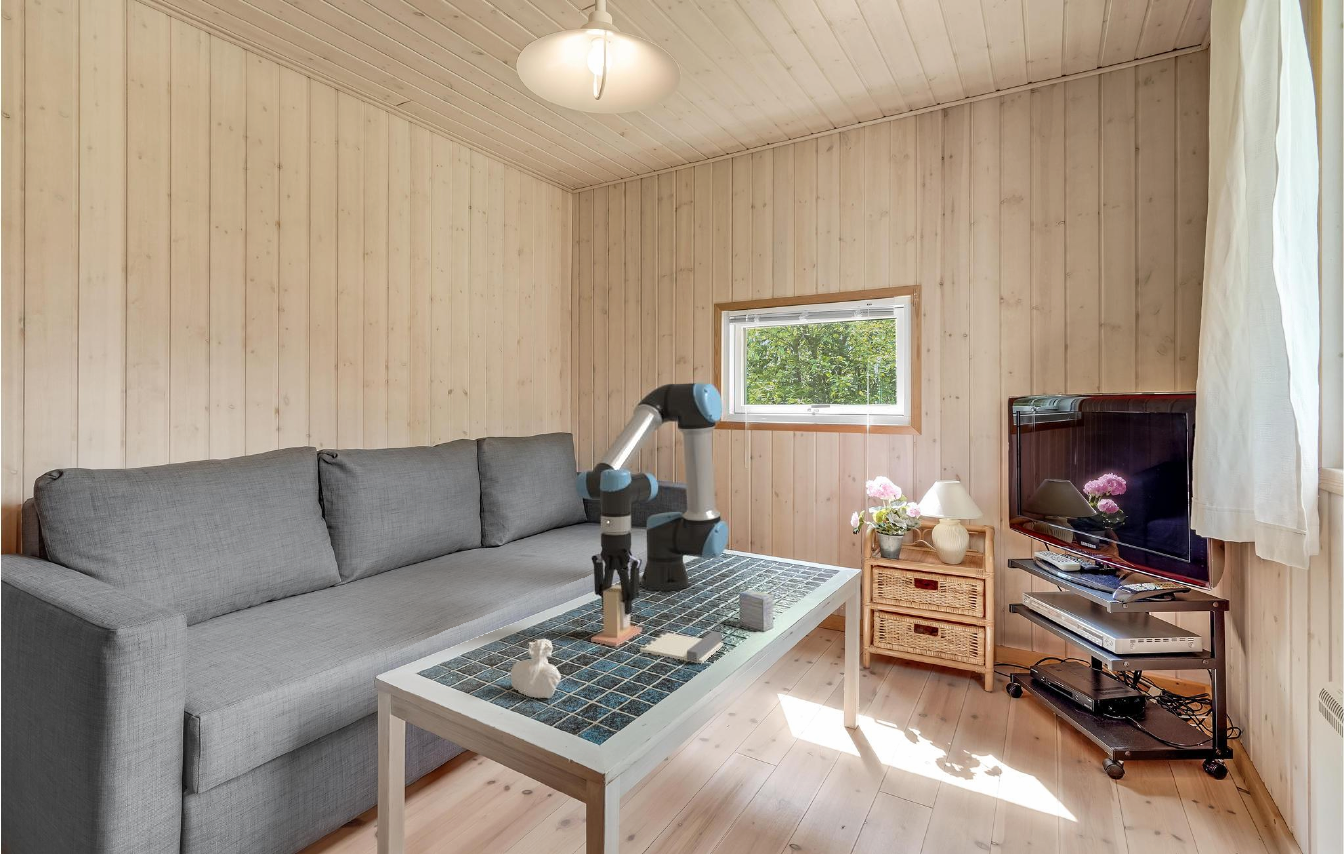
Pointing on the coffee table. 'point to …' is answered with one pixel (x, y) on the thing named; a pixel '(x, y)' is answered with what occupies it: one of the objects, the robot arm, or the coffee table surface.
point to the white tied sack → (536, 672)
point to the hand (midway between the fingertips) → (616, 624)
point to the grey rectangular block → (756, 610)
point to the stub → (614, 620)
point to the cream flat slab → (684, 646)
